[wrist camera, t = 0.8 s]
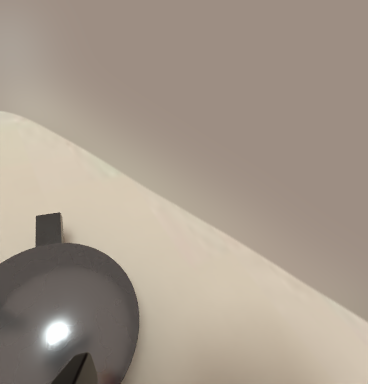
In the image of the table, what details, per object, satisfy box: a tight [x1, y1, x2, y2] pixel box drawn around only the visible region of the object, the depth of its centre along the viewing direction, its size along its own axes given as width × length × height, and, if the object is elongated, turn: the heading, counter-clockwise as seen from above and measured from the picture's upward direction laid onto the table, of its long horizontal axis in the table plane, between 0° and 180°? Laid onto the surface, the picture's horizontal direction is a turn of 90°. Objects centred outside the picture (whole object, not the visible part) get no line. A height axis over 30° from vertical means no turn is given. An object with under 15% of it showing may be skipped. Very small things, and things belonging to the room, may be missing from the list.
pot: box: [0, 213, 139, 384], centre depth 16 cm, size 15×10×4 cm, turn 17°
